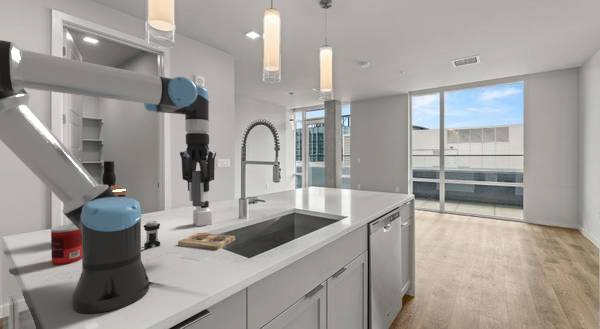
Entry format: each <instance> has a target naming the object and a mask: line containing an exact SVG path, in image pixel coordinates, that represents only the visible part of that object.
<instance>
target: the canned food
mask: <svg viewBox="0 0 600 329" xmlns="http://www.w3.org/2000/svg"><path fill="white" fill-rule="evenodd" d="M50 233H51V234H50V238H51V239H50V240H51V241H50V242H51V244H50V245H51V247H50V248H51V263H52V265H55V266H64V265H70V264H74V263H77V262H79V261H81V260H82V234H81V231H80V230H79V228H78V227H77V226H76V225H75V224H74V223H72V224H64V225H59V226H55V227H53V228H51V231H50Z"/></svg>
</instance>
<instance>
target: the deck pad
mask: <svg viewBox="0 0 600 329" xmlns="http://www.w3.org/2000/svg"><path fill="white" fill-rule="evenodd" d="M213 253H214V251H211V250H210V251H209V250H202V249H193V250H190V251H189V252H186V253H184V254H182V255H180V256H179V257H178V258H180V259H186V260H193V261H194V260H195V261H201V260H203V259H204V258H205V257H206V258H207V257H208V256H210V255H211V254H213Z"/></svg>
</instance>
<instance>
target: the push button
mask: <svg viewBox="0 0 600 329" xmlns="http://www.w3.org/2000/svg"><path fill="white" fill-rule="evenodd" d="M160 226H161V223H158V221H156V220H153V221H151V220H150V221H147V222H146V224H144V225H143V228H144V231H146V233H145V234H146V239H145V243H144V244H143V245H144V246H141V252H142V251H147V250H149V249H155V248H158V247H161V241H159V238H158V235H159V234H158V233H159V232H158V230H160Z"/></svg>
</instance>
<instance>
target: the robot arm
mask: <svg viewBox="0 0 600 329" xmlns="http://www.w3.org/2000/svg"><path fill="white" fill-rule="evenodd" d="M25 89H27V90H35V91H36V90H37V91H45V92H51V93H52V92H54V93H59V94H61V93H62V94H66V95H67V94H69V95H76V96H77V95H78V96H85V97H92V98H93V97H94V98H102V99H109V100H118V101H125V102H134V103H142V104H143V105H144V106H143V107H144V108H145V110H146V111H147V112H155V113H157V114H158V113H162V114H163V113H164V114H174V115H175V114H176V115H184V119H185V124H184V125H185V126H184V127H185V128H184V129H185V132H186V134H185V144H186V149H185V151H179V156H180V158H181V171H182V173H181V175H182V177H181V178H182V180H183V181H186V182H187V191H188V192H189V193H188V194H189V202H193V200H192V171H197V165H199V171H201V176H202V181H201V182H202V183H200V189H201V202H204V201H208V202H209V200H208V199H209V198H208V197H209V194H208V193H209V191H210V182H211V181H214V180H215V170H216V169H215V163H216V161H215V159H216V156H217V152H216V151H213V150H210V148H209V145H210V134H209V132H210V124H209V123H210V120H209V119H210V117H209V107H210V105H209V104H210V100H209V99H210V98H209V91H208V89H207V88H205V87H203V86H199V85H196V84H195V82H193V81H192V80H191V79H190V78H187V77H185V76H177V77H176V76H175V77H174V78H171V77H164V76H158V75H152V74H148V73H143V72H138V71H134V70H133V71H132V70H128V69H122V68H118V67H113V66H107V65H102V64H99V63H98V64H97V63H92V62H86V61H81V60H77V59H72V58H71V59H70V58H65V57H62V56H61V57H60V56H57V55H56V56H55V55H51V54H46V53H40V52H35V51H30V50H26V49H23V48H21V47H19V45H17V44H16V43H15V42H12V41H7V40H2V39H0V141H1V142H2V143H3V144H4V145H5V146H6V147H7V148H8V149H9V150H10V151H11V152H12V153H13V154H14V155H15V156H16V157H17V158H18V159H19V160H20V161H21V162H22V163H23V165H25V166H26V167H27V168H28V169H29V170H30V171H31V172H32V174H34V175H35V176H36V177H37V178H38V179H39V180H40V181H41V183H43V184H44V186H46V187H47V189H49V191H51V192H52V193H53V194H54V195H55V197H57V198H58V199H59V200H60V201H61V202H62V203H63V209H62V214H64V216H65V217H67V219H68V220H69V221H70V222H72V224H75V225H76V226H77V227H78V228H79V230H80V231H81V234H82V259H81V260H82V263H81V265H82V266H81V267H82V268H81V272H80V273H81V274H80V276H79V279H78V281H77V284H76V288H75V290H74V292H73V295H72V308H73V310H74V311H75V312H78V313H81V314H99V313H105V312H111V311H114V310H118V309H120V308H123V307H126V306H129V305H131V304H134V303H135V302H137V301H139V300H140V299H142V298H143V297H144V296H145V295H147V293H148V291H149V289H150V279H149V276H148V275H147V271H146V269H145V266H144V264H143V262H142V251H141V250H142V248H141V247H142V243H141V242H142V239H141V238H142V236H141V235H142V230H141V227H142V226H141V225H142V220H141V218H142V210H141V204H140V202H139V201H138V200H136V199H135V198H131V197H126V196H125V197H118V196H117V195H116V194H115V193H114V191H113V190H112V189H111V188H110V187H109V186H108V185H103V183H98V181H96V179H95V178H94V177H93V176H92V175H91V174H90V173H89V171H87V169H86V168H85V167H84V166H83V165H82V164H81V163H80V161H79V160H78V159H77V158H76V157H75V156H74V155H73V153H71V151H69V149H68V148H67V147H66V145H65V144H63V143H62V141H61V140H60V139H59V138H58V137H57V136H56V135H55V134H54V133H53V131H52V130H51V129H50V127H48V126H47V125H46V123H45V122H44V121H43V120H42V119H41V117H40V116H39V115H38V114H37V113H36V112H35V111H34V110H33V109H32V107H30V105H29V100H30V94H29V93H28V92H27V91H26V90H25Z"/></svg>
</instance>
